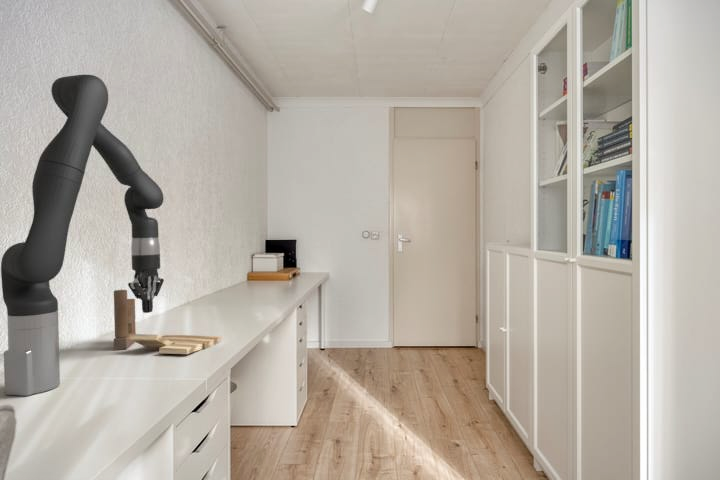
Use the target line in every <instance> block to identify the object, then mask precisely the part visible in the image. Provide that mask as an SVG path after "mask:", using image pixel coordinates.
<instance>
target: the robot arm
mask: <svg viewBox="0 0 720 480" xmlns="http://www.w3.org/2000/svg"><path fill="white" fill-rule="evenodd" d="M50 92H51V97H52V100H53V101H54V103H55V104H56V106H57V108H59V110H60V111H61V112H62V113H63V114H64V116H66V121H65V122H64V124H63V125H62V127H61V129H60V130H59V131H58V133H57V134H56V135H55V136H54V137H53V138H52V140H51V141H50V142H49V143H48V145H46V147H45V148H44V150H43V151H42V153H41V154H40V157H39V159H38V160H37V161H38V162H37V165H36V168H35V172H34V176H33V180H32V187H31V189H32V190H31V192H32V201H33V217H32V222H31V226H30V228H29V231H28V234H27V237H26V239H25V241H23V242H22V241H21V242H17V243H15V244H13V245H11V246H9V247H8V248H7V249H6V250H5V252H4V253H3V255H2V258H1V266H0V275H1V276H0V277H1V289H2V298H3V302H4V304H5V307H6V311H7V312H6V313H7V350H6V349H5V350H4V351H3V367H4V368H3V369H4V370H3V373H4V375H3V379H4V395H8V396H23V397H24V396H25V397H28V396H31V395H35V394H40V393H43V392H48V391H49V390H53V389H56V388H57V387H59V386H60V384H61V376H60V375H61V373H60V371H61V370H60V369H61V368H60V342H59V341H60V337H59V336H60V332H59V329H60V328H59V303H58V299H57V297H56V296H55V295H54V294H53V293H52V290H51V287H50V281H52V280H53V279H54V278H56V277H57V276H58V275H59V273H60V272H61V270H62V268H63V265H64V260H65V255H66V254H65V253H66V247H67V241H68V233H69V229H70V225H71V224H70V223H71V220H72V219H73V218H72V217H73V214H74V211H75V207H76V205H77V204H76V203H77V200H78V197H79V193H80V190H81V187H82V184H83V180H84V176H85V173H86V168H87V163H88V161H89V156H90V154H91V151H92V148H93V147H94V149H95V150H96V151H97V153H98V154H99V156H100V157H101V158H102V159H103V160H104V163H106V165H107V167H108V169H109V170H110V171H111V173H112V175H113V176H114V177H115V179H116V180H117V182H119V184H121V185H123V186H128V188H127V190H126V191H125V193H124V196H123V197H124V205H125V209H126V212H127V214H128V217H129V220H130V224H131V247H130V250H131V252H130V253H131V269H132V270H133V271H134V275H133V281H132V282H128V284H127V286H128V287H129V289H130V291H131V292H132V293H133V295H134V297H135V298H136V299H137V300H138V299H139V300H140V301H141V310H142V313H143V314H147V313H152V312H153V309H154V308H153V307H154V305H153V303H154V302H153V300H154V298H155V297H158V295H159V293H160V291H161V288H162V287H163V283H164V282H165V280H164V279H165V278H161V277H160V276H159V272H158V270H160V268H161V249H160V248H161V245H160V241H159V240H160V239H159V222H158V220H157V218H154V217H151V216H150V217H149V216H148V213H147V211H146V210H154V209H155V210H156V209H159V208H160V207H161V206H162V205H163V203H164V199H165V198H164V192H163V190H162V189H161V187H160V186H159V184H157V182H156V181H155V180H154V179H153V178H152V177H150V176H149V174H148V173H146V171H144V169H142V167H141V166H140V164H139V162H138V160H137V159H136V157H135V155H134V154H133V153H132V151H131V150H130V148H129V147H128V146H127V145H126V144H125V143H124V142H122V140H120V139H119V138H118V137H117V136H116V135H114V134H113V133H112V132H111V131H110V130H109V129H107V127H106V126H104V124H103V123H102V121H103V119H104V116H105V113H106V110H107V108H108V104H109V91H108V87H107V86H106V83H105V82H104V81H103V80H102V79H101V78H99V77H98V76H96V75H94V74H76V75H69V76H68V75H67V76H62V77H59V78H57V79H55V80H54V81H53V82H52V85H51V90H50Z"/></svg>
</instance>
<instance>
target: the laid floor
mask: <svg viewBox="0 0 720 480" xmlns="http://www.w3.org/2000/svg"><path fill="white" fill-rule="evenodd" d="M160 336H161V337H163V338H165V339H167V340H168V341H170V342H172V344H174V343H194V344H202V349H201V350H207V349H209V348H210V346H211V347H213V346H215V345H216V344H215V343H217V342H219V341H221V342H222V336H221V335H191V334H190V335H187V334H164V335H160ZM219 343H220V342H219ZM214 344H215V345H214ZM217 344H218V343H217ZM212 345H213V346H212ZM208 347H209V348H208ZM148 348H151V349H153V348H154V349H155V348H157V349H159V348H161V347H148ZM206 348H207V349H206Z"/></svg>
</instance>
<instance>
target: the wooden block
mask: <svg viewBox="0 0 720 480" xmlns="http://www.w3.org/2000/svg"><path fill="white" fill-rule="evenodd" d="M113 309H114V310H113V312H114V313H113V314H114V338H113V350H114V351H121V350H122V351H123V350H125V351H126V350H127V349H128V348H130V347H131V346H132V345H133V344H134V343H136V342H134V341H132V340H130V339H129V338H130V335H131V334H137V332H136V299H135V298H128V290H127V289H115V290H113Z"/></svg>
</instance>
